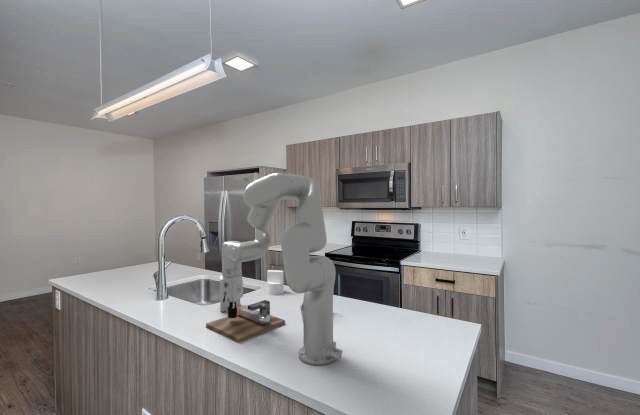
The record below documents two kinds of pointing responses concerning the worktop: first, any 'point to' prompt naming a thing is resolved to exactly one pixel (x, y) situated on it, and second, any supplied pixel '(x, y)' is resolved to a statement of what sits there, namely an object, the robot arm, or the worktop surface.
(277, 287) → the cylinder with rectangular tab
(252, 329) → the board
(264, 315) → the link
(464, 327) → the worktop surface
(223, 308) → the supplement box
